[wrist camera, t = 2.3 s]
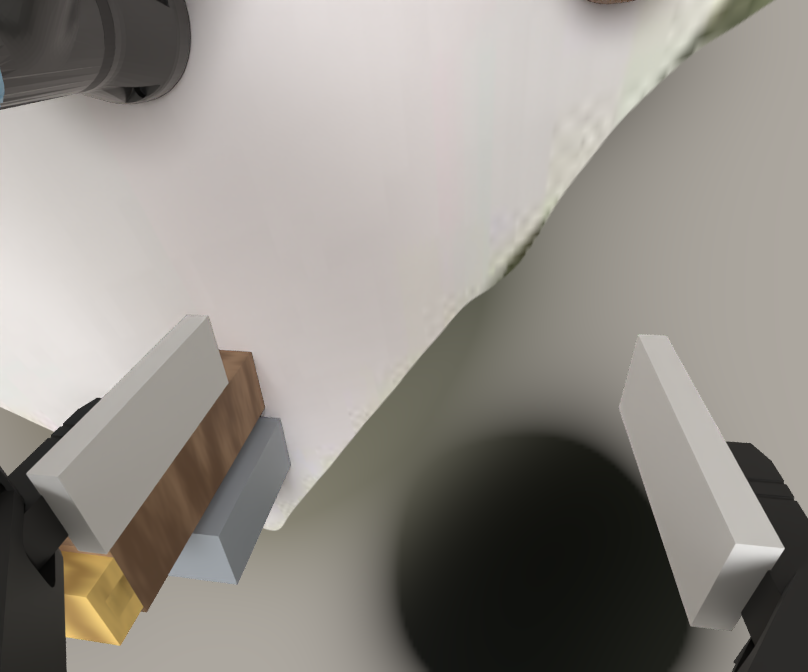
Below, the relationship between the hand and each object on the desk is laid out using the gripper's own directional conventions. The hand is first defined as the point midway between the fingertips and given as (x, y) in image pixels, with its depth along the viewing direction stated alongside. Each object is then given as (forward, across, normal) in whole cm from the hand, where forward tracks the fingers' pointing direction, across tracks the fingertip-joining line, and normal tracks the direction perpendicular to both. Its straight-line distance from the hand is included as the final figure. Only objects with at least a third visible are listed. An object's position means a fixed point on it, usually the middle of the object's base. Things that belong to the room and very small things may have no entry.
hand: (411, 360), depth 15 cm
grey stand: (+39, -33, -45) cm, 68 cm away
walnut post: (+39, -34, -33) cm, 61 cm away
